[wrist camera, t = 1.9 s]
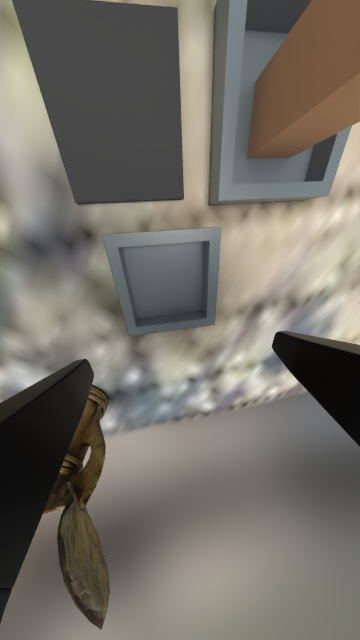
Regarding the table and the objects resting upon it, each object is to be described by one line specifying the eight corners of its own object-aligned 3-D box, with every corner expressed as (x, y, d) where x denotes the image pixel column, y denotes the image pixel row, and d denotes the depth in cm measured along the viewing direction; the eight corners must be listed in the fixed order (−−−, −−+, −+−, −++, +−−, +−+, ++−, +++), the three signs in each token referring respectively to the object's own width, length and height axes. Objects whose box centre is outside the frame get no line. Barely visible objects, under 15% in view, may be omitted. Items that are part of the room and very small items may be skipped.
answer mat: (78, 203, 13) (75, 202, 13) (18, 7, 9) (9, -7, 8) (182, 199, 14) (183, 198, 14) (175, 19, 10) (177, 7, 9)
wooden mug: (142, 402, 28) (129, 619, 12) (65, 422, 27) (-49, 674, 12) (123, 368, 23) (66, 643, 8) (31, 391, 23) (-228, 735, 7)
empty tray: (131, 324, 20) (128, 335, 18) (109, 234, 15) (101, 234, 13) (208, 314, 21) (214, 324, 19) (211, 227, 16) (221, 227, 14)
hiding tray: (209, 204, 15) (218, 200, 13) (214, 8, 10) (232, -54, 8) (304, 200, 16) (328, 195, 14) (354, 20, 11) (404, -32, 9)
